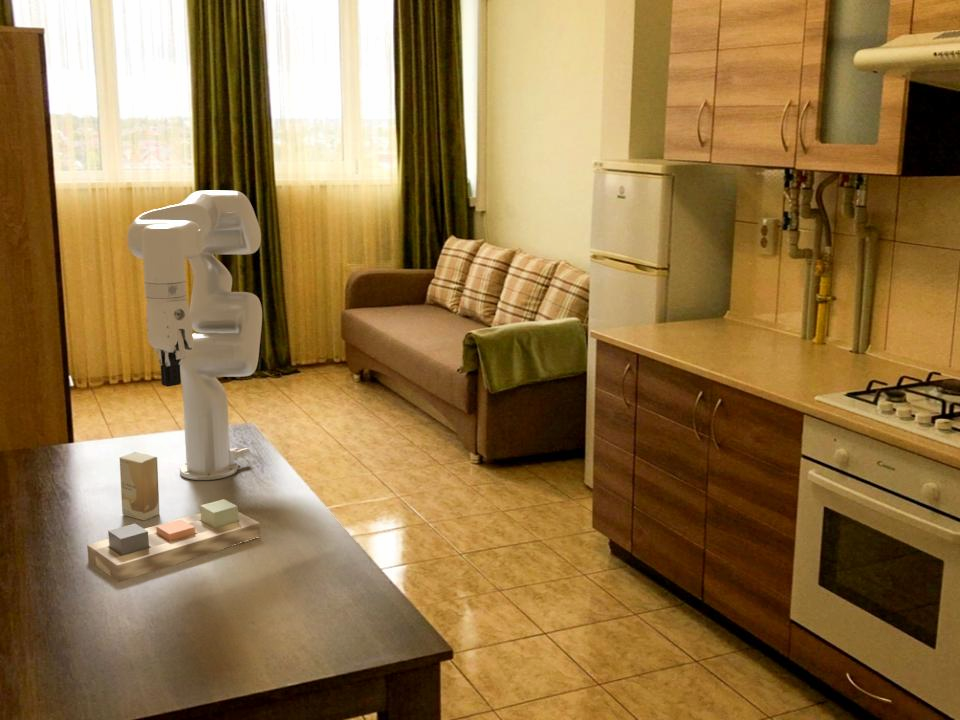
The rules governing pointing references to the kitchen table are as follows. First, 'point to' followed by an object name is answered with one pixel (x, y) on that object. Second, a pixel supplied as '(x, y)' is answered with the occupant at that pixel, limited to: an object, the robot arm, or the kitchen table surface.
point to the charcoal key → (128, 539)
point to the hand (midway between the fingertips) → (171, 384)
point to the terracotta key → (175, 530)
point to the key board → (171, 547)
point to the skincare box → (139, 485)
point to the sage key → (219, 513)
